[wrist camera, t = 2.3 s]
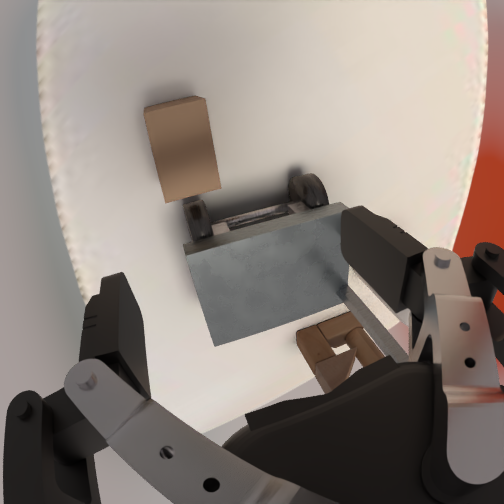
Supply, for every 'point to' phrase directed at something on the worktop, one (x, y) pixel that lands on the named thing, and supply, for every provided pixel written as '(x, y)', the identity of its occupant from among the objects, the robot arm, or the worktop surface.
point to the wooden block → (334, 335)
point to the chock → (182, 147)
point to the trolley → (275, 267)
